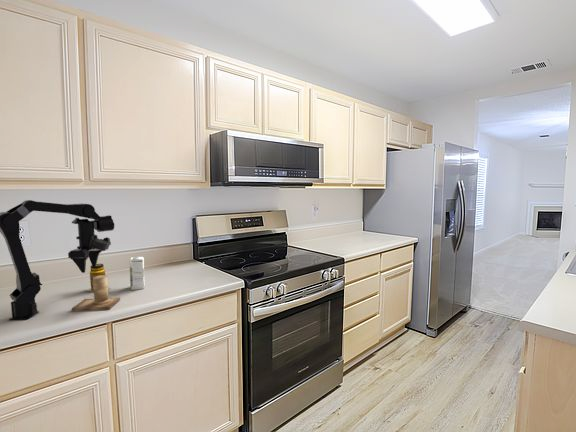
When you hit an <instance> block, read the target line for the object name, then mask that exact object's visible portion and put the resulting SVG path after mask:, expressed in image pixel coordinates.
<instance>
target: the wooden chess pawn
mask: <svg viewBox="0 0 576 432" xmlns="http://www.w3.org/2000/svg"><path fill="white" fill-rule="evenodd" d="M108 285H109V284H108V275H106V274H105V275H101V276H96V277H93V288H94V292H93V297H94V298H93V299H94V301H93V304H94V305H103V304H106V303H109V302H110V298H111V297H109V289H108V288H109V286H108Z"/></svg>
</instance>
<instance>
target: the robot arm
mask: <svg viewBox="0 0 576 432" xmlns="http://www.w3.org/2000/svg"><path fill="white" fill-rule="evenodd" d="M32 212H44V213H46V212H47V213H58V214H68V215H71V216H75V218H74V219H73V220H72V221H71V224H74V225H77V232H78V236H76V240H78V246H76V248H74V249H71V250H70V251H68V252H67V256H68V257H67V258H68V259H70V260H72V262H74V264H75V265H76V266H77V268H78V269H79V271H80V272H81V273H82V274H84V273H85V272H86V265H87V260H88V259H89V261H90V263H91V264H90V265H92V266H93V267H96V264H98V263H97V262H98V260H99V257H100V254H101V253H102V252H106V250H109V247H110V246H112V245H111V244H112V243H111V239H110V238H109V237H107V236H106V237H103V238H98V235H97V234H95V230H96V232H98V233H103V232H112V231H114V229H115V222H114V220H113V218H112V217H113V216H112V215H111V214H110V215H109V214H108V215H103V216H100V214H98V212H97V211H96V208H95V207H94V206H93V205H92V204H89V203H71V204H67V203H66V204H65V203H57V202H56V203H54V202H45V201H37V200H36V201H35V200H31V199H30V200H29V199H27V200H24V201H22V202H21V203H19V204H17V205H15V206H14V207H12V208H10V209H8V210H7V211H1V212H0V234H1V235H2V237H3V238H4V241H5V243H6V246H7V249H8V252H9V256H10V258H11V261H12V264H13V267H14V270H15V274H16V275H15V276H16V277H15V284H16V287H15V289H14V290H13V291H12V292H11V293H10V294H9V297H10V299H11V300H12V301H11V302H10V307H11V308H10V309H11V317H10V318H8V320H9V321H17V320H18V321H19V320H29V319H31V318H32V317H34V316H35V315H37V314H39V312H40V311H39V310H38V307H37V306H38V305H37V302H36V297H37V295H38V294H39V292H40V291H41V289H42V287H41V286H43V284H42V283H41V281H40V275H39V274H38V273H36V272H32V271H31V268H30V265H29V262H28V259H27V256H26V253H25V250H24V247H23V243H22V240H21V238H20V221H22V220H23V219H24V218H26V217H27V216H28V215H30V214H31V213H32ZM76 216H77V217H76ZM79 217H80V218H79ZM90 219H91V220H90Z"/></svg>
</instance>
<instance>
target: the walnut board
mask: <svg viewBox="0 0 576 432" xmlns="http://www.w3.org/2000/svg"><path fill="white" fill-rule="evenodd" d="M109 298H110V302H109V303H106V304H103V305H94V304H93V301H94V298H84V299H82V300H81V301H79V302H78V303H76V305H74V306H73V307H72V308H71V312H83V311H87V312H88V311H106V310H108V311H109V310H111V309H112V308H113V307H115V305H117V304H118V303H119V302H120V301H121V297H109Z"/></svg>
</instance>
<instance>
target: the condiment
mask: <svg viewBox="0 0 576 432" xmlns="http://www.w3.org/2000/svg"><path fill="white" fill-rule="evenodd" d="M104 268H105V267H104V263H97V264H96V267H93V266H92V264H90V272H89V279H90V288H86V289H85V291H87V292H88V291H89V293H90V292H91V293H94V288H93V277H96V276H101V275H106V270H105V269H104ZM109 289H110V287H108V290H109Z"/></svg>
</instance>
